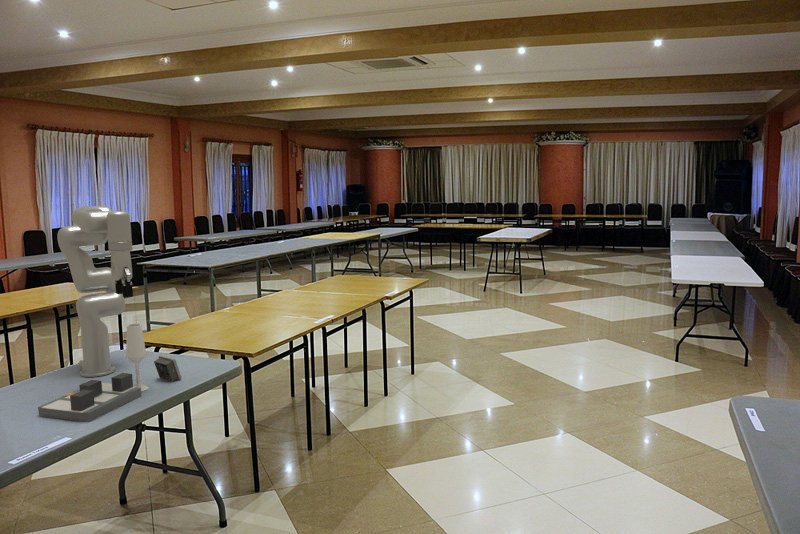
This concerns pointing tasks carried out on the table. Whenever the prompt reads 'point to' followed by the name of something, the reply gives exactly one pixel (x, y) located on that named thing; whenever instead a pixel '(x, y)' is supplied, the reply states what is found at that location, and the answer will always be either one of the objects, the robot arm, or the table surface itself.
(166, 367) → the electrical switch
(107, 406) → the breaker panel
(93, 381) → the block
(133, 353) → the champagne flute
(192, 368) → the table surface
